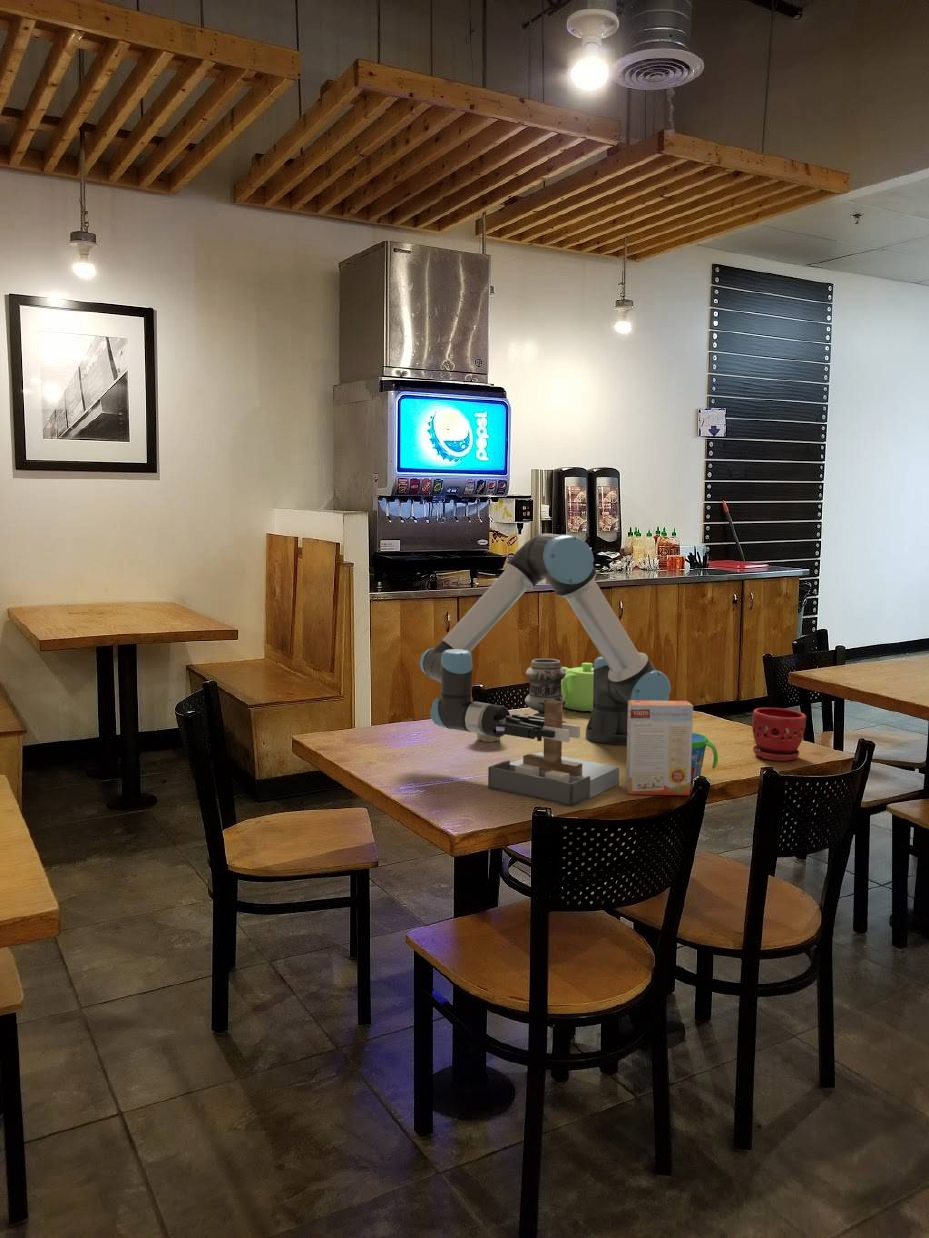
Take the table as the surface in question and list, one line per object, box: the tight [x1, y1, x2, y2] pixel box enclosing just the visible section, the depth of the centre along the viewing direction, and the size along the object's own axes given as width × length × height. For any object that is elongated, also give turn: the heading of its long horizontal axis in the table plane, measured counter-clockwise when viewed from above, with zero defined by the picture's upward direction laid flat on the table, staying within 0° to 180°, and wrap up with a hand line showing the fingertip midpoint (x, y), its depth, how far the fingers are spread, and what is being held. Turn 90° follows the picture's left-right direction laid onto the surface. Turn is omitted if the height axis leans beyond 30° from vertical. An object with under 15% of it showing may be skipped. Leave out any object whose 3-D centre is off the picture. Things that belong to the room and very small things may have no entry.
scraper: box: [522, 700, 582, 777], centre depth 230 cm, size 3×14×16 cm, turn 54°
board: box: [510, 751, 620, 799], centre depth 235 cm, size 14×22×4 cm, turn 54°
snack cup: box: [691, 732, 719, 782], centre depth 239 cm, size 16×10×10 cm
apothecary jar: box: [524, 658, 566, 717], centre depth 300 cm, size 12×12×18 cm
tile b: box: [545, 770, 569, 783], centre depth 225 cm, size 4×4×3 cm
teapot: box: [561, 662, 594, 712], centre depth 318 cm, size 19×20×14 cm
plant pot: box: [751, 707, 807, 762], centre depth 260 cm, size 13×13×12 cm
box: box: [487, 759, 590, 807], centre depth 226 cm, size 8×22×5 cm, turn 54°
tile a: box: [515, 764, 539, 776], centre depth 230 cm, size 4×4×3 cm
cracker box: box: [625, 700, 694, 796], centre depth 227 cm, size 14×6×21 cm, turn 88°
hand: (573, 734), depth 227 cm, fingers open, 4 cm apart
